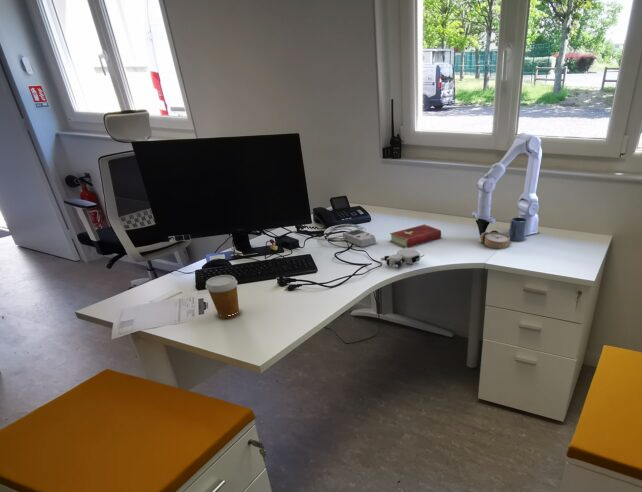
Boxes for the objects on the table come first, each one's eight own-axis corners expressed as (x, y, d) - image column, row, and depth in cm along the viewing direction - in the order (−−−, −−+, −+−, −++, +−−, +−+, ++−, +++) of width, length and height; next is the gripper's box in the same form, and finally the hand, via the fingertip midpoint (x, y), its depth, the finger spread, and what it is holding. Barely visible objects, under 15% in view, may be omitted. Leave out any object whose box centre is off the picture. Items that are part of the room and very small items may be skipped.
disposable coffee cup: (218, 308, 152) (209, 275, 146) (247, 307, 153) (239, 274, 147) (209, 321, 144) (200, 287, 138) (240, 320, 145) (232, 286, 139)
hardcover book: (441, 238, 213) (441, 229, 211) (406, 248, 202) (406, 239, 200) (424, 232, 221) (424, 223, 219) (390, 241, 210) (390, 232, 207)
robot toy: (396, 274, 179) (426, 263, 186) (395, 263, 176) (425, 252, 183) (379, 265, 187) (408, 254, 194) (378, 254, 185) (407, 244, 191)
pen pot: (516, 235, 217) (519, 216, 212) (527, 239, 212) (530, 220, 207) (505, 238, 214) (507, 218, 209) (516, 242, 208) (518, 222, 204)
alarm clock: (497, 244, 197) (475, 229, 206) (494, 254, 201) (473, 239, 209) (515, 239, 203) (493, 225, 212) (513, 249, 206) (491, 235, 215)
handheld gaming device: (361, 248, 202) (361, 239, 200) (343, 240, 212) (342, 231, 210) (377, 244, 207) (377, 235, 205) (358, 236, 217) (358, 228, 215)
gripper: (467, 203, 208) (465, 232, 215) (488, 210, 198) (485, 240, 205) (479, 201, 211) (477, 230, 219) (500, 208, 201) (497, 238, 208)
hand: (482, 235), depth 212 cm, fingers closed
